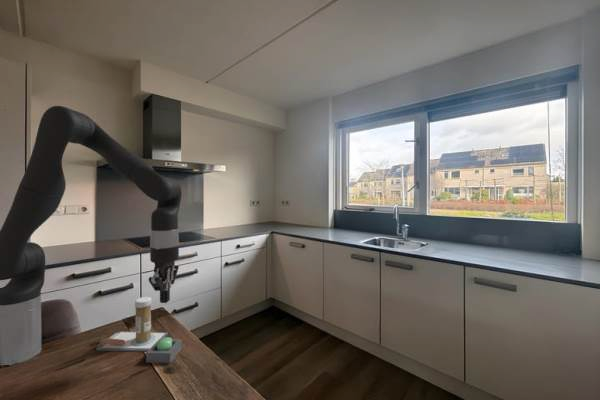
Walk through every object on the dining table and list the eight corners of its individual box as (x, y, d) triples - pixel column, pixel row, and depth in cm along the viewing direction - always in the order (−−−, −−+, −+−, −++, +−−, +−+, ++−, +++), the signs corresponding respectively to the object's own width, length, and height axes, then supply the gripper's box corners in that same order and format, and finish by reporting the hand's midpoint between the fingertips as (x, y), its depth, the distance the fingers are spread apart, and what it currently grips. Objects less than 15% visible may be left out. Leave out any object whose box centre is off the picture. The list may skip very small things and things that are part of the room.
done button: (154, 354, 76) (154, 344, 76) (161, 346, 80) (161, 337, 80) (167, 355, 76) (167, 345, 76) (174, 346, 80) (174, 337, 80)
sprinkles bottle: (151, 340, 84) (151, 300, 83) (135, 345, 81) (135, 303, 81) (150, 334, 88) (150, 295, 87) (134, 338, 85) (134, 298, 85)
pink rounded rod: (100, 344, 81) (101, 339, 81) (104, 341, 82) (105, 336, 82) (122, 346, 81) (122, 341, 80) (125, 343, 82) (126, 338, 82)
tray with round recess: (96, 350, 79) (96, 347, 79) (119, 332, 89) (119, 329, 89) (151, 352, 79) (151, 348, 79) (168, 334, 89) (168, 330, 89)
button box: (146, 362, 74) (146, 352, 74) (159, 348, 81) (159, 338, 81) (170, 363, 74) (170, 353, 74) (181, 348, 81) (181, 339, 81)
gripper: (164, 240, 83) (164, 293, 84) (138, 249, 70) (138, 312, 71) (187, 240, 83) (187, 293, 84) (165, 249, 70) (165, 312, 71)
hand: (164, 301), depth 77 cm, fingers closed
